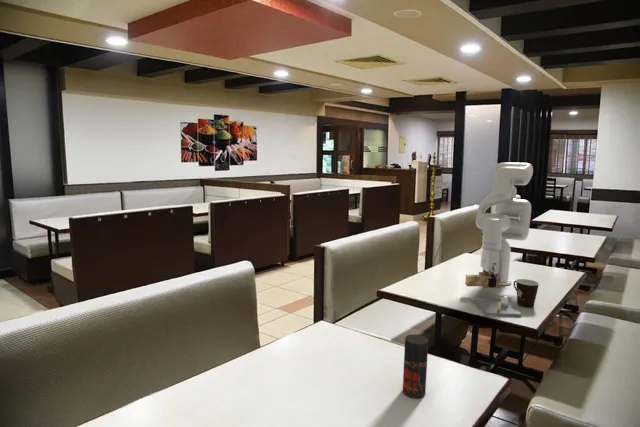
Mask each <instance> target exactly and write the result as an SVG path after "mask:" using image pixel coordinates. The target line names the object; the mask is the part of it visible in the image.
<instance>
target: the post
mask: <svg viewBox="0 0 640 427" xmlns="http://www.w3.org/2000/svg"><path fill="white" fill-rule="evenodd" d="M500 299H501V307H504V308H508V304H510V302H509V300H510V296H508V295H501V296H500Z"/></svg>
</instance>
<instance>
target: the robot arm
mask: <svg viewBox="0 0 640 427" xmlns="http://www.w3.org/2000/svg"><path fill="white" fill-rule="evenodd" d="M533 174H534V167H533V165H532V164H531V163H528V162H499V163H497V164H496V165H495V166H494V180H493V186H492V190H491V193H490V194H488V196H486V197H485V198H484V199H483V200H482V201H481V202H480V204H479V205H478V208H477V212H476V216H475V217H476V218H475V226H476V227H477V228H478V229H480V230H482V231H483V232H482V245H481V246H482V247H481V248H482V251H481V256H480V267H481V268H482V272H489V276H490V278H489V283H488V286H489V287H496V281H497V275H499V276H500V277H501V278H500V286H509V285H511V284H512V280H511V279H510V278H509V273H510V262H511V260H510V259H511V245H510V243H509V242H508V241H507V240H512V241H526V240H527V238H528V236H529V232H530V225H531V223H530V222H531V218H532V217H531V215H532V203H531V202H530V201H529V200H527V199H520V198H518V199H517V193H518V191H517V188H516V187H515V186H526V185H528V184H529V182H530V181H531V179H532V176H533ZM494 206H495V213H489V212H486V211H487V210H488V209H489V208H491V207H494ZM516 219H517V220H516ZM491 273H494V274H491Z"/></svg>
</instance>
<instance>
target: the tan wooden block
mask: <svg viewBox="0 0 640 427" xmlns="http://www.w3.org/2000/svg"><path fill="white" fill-rule="evenodd" d="M491 274H494V273H491ZM489 278H490V276H489V272H483V271H479V272H478V274H465V284H464V285H465V286H466V287H482V289H500V288H501V285H500V278H501V277H500V276H499V275H497V281H496V287H489V286H488V283H489Z"/></svg>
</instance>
